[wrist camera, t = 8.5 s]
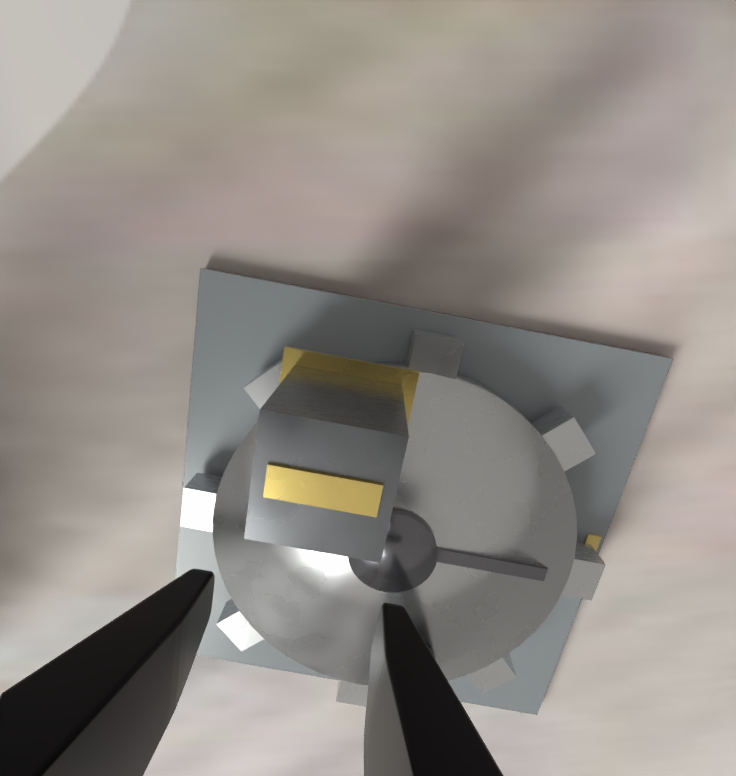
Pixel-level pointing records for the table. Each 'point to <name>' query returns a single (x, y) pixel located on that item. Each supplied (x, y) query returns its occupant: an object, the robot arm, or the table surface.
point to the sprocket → (415, 531)
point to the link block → (327, 464)
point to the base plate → (391, 344)
